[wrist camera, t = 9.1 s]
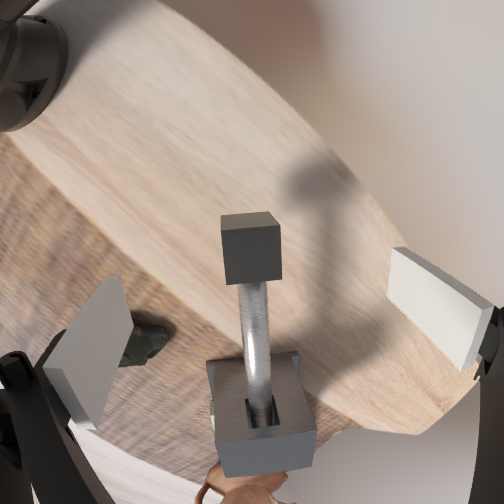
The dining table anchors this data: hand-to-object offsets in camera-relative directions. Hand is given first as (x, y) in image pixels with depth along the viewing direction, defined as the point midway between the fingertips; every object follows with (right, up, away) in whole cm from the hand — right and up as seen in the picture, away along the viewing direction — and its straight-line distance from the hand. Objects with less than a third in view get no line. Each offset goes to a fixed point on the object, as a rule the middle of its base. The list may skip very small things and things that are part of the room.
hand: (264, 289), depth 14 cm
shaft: (0, -8, +16) cm, 17 cm away
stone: (-17, -9, +21) cm, 29 cm away
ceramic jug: (-3, -40, +33) cm, 52 cm away
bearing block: (0, -16, +25) cm, 30 cm away
